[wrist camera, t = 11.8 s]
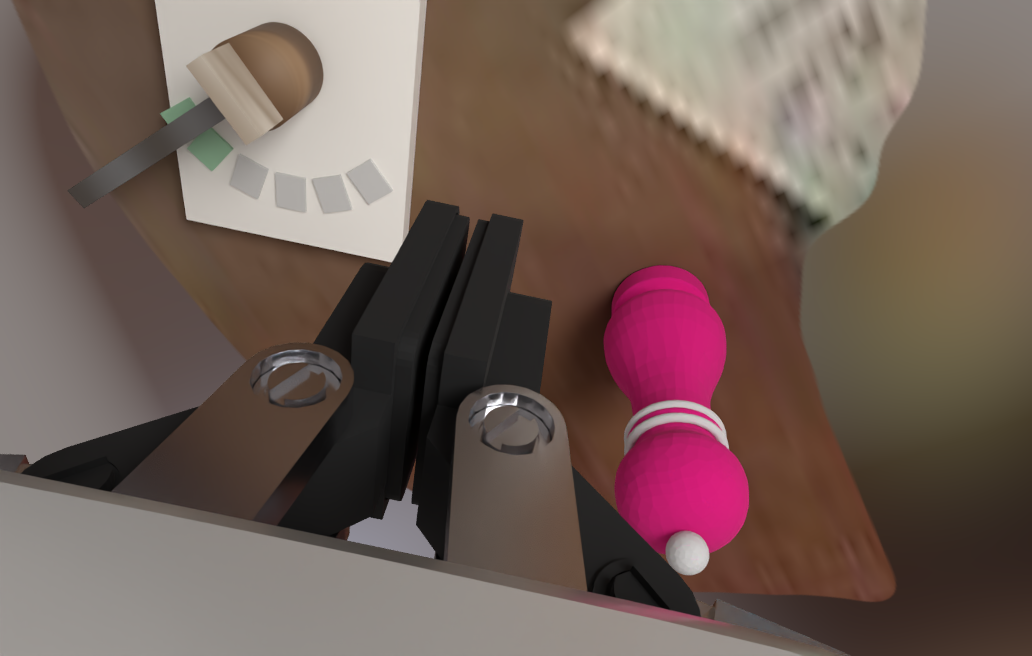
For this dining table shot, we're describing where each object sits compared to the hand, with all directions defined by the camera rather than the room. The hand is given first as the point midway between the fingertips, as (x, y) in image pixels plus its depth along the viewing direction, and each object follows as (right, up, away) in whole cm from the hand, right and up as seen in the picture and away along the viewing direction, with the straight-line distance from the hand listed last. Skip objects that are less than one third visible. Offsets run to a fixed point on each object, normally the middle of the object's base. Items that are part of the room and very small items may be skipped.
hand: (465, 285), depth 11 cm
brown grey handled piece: (-17, +11, +25) cm, 32 cm away
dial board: (-12, +12, +27) cm, 32 cm away
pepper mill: (+10, +1, +32) cm, 33 cm away
